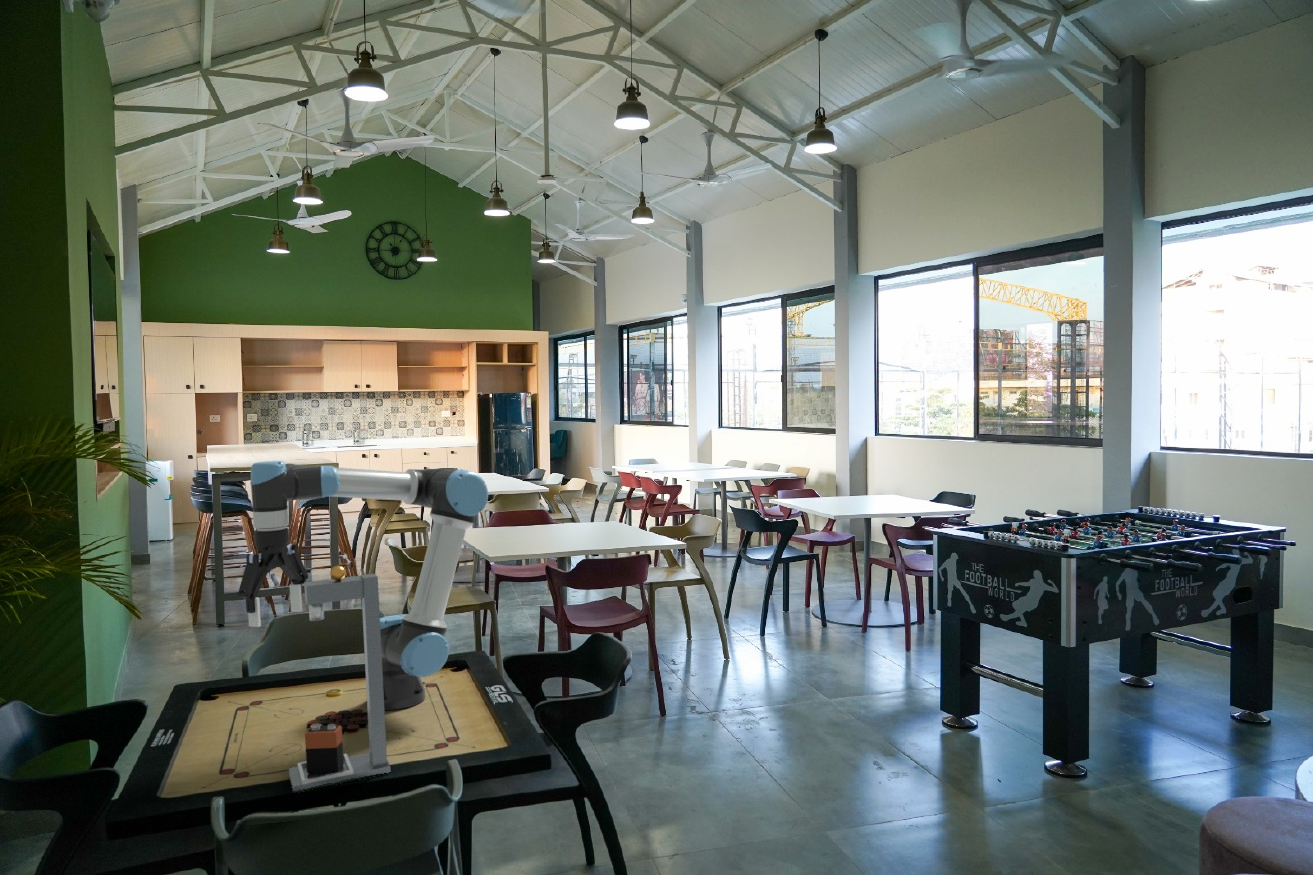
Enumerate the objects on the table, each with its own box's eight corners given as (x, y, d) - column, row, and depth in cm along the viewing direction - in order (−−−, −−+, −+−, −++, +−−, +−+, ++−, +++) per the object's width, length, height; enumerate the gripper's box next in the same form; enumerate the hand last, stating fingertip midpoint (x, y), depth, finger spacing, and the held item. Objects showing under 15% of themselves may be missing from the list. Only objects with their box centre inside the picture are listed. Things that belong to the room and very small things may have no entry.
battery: (313, 766, 201) (311, 721, 201) (344, 765, 202) (342, 720, 201) (306, 774, 197) (303, 729, 196) (337, 773, 197) (335, 728, 197)
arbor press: (289, 775, 201) (277, 567, 198) (382, 756, 210) (372, 557, 207) (293, 793, 191) (281, 576, 189) (390, 772, 200) (380, 565, 198)
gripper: (295, 519, 224) (300, 605, 225) (216, 536, 200) (222, 632, 201) (320, 520, 221) (325, 606, 223) (244, 537, 198) (249, 634, 199)
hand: (276, 618), depth 212 cm, fingers open, 13 cm apart
